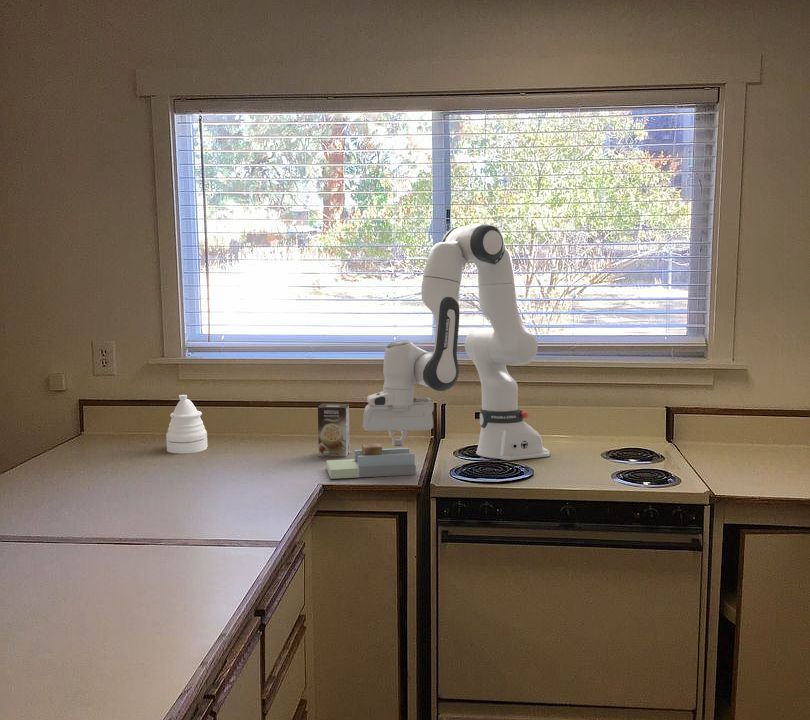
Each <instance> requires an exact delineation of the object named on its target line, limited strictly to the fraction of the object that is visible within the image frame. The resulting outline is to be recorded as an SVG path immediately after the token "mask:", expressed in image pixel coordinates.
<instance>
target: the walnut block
mask: <svg viewBox="0 0 810 720" xmlns="http://www.w3.org/2000/svg"><path fill="white" fill-rule="evenodd" d="M382 449H383V447H382V445H381V443H366V444H364V443H363V444H362V445H361V450H362V456H364V455H382Z"/></svg>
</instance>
